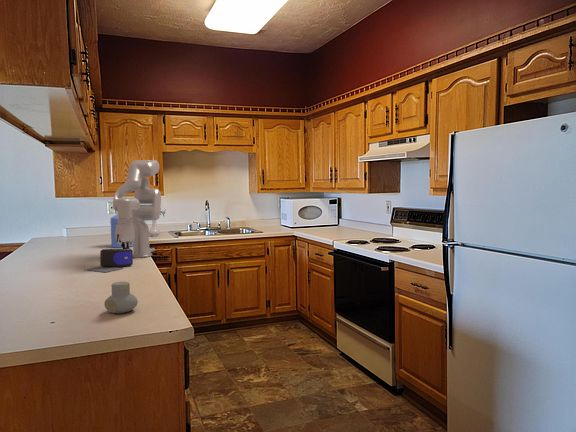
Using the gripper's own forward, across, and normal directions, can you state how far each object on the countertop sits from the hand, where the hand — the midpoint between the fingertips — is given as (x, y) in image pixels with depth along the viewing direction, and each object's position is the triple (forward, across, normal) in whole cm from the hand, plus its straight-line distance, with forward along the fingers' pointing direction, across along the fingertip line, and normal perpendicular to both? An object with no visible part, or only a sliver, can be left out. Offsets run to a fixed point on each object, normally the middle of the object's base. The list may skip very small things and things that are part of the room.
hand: (126, 254), depth 242 cm
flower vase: (+6, -107, -84) cm, 136 cm away
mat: (+6, +15, 0) cm, 16 cm away
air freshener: (+6, +65, +69) cm, 95 cm away
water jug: (+6, -50, -59) cm, 78 cm away
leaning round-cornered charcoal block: (+6, +7, 0) cm, 9 cm away
